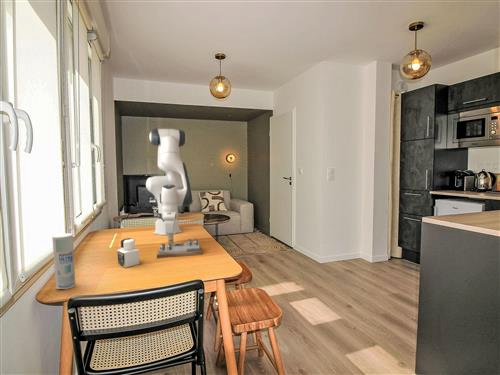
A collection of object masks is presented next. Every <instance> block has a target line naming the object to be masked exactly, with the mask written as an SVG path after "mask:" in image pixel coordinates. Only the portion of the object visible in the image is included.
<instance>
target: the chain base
mask: <svg viewBox="0 0 500 375" xmlns="http://www.w3.org/2000/svg"><path fill="white" fill-rule="evenodd" d="M159 250H160V248H159V249H158V250H157V252H156V259H163V258H174V257H175V258H176V257H188V256H189V257H190V256H201V255H202V254H203V253H202V246H201V245H199V251H191V252H177V253H163V254H159Z"/></svg>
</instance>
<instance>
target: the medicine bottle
mask: <svg viewBox="0 0 500 375" xmlns="http://www.w3.org/2000/svg"><path fill="white" fill-rule="evenodd" d="M135 240H136V239H135V238H131V237H129V238H123V239H122V240H121V241H120V248H119V249H117V265H119V266H120V267H122V268H124V269H126V268H130V267H134V266H137V265H140V249H138V248H136V241H135Z"/></svg>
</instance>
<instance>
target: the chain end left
mask: <svg viewBox="0 0 500 375" xmlns="http://www.w3.org/2000/svg"><path fill="white" fill-rule="evenodd" d="M172 247H173V246H172V244H171V243H168V242H167V246H166V244H165V243H161V245H160V247H159V249H160V250H159V249H158V250H159V254H163V253H177V252H187V249H179V250H173V249H172Z"/></svg>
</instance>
